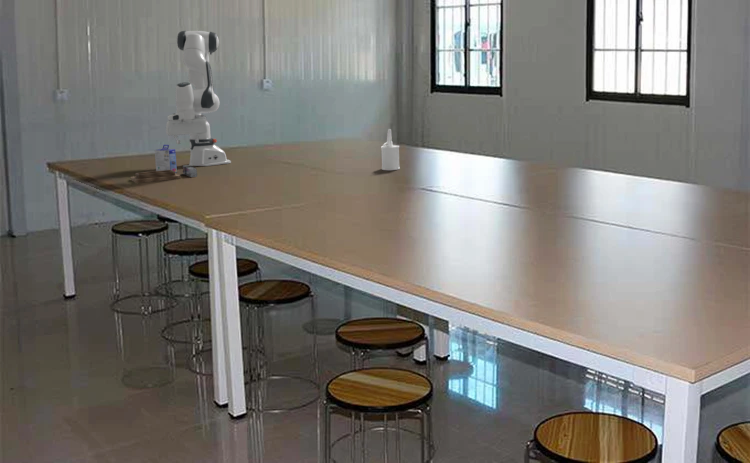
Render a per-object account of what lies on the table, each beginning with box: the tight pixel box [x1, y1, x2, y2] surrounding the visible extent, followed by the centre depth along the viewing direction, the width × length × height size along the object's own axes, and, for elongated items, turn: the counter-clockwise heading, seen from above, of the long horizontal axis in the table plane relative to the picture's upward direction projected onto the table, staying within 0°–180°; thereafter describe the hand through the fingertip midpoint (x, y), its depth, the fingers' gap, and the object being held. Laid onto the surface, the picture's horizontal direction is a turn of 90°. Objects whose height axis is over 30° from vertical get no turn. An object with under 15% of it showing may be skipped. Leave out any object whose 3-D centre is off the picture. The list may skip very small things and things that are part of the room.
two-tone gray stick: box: [182, 164, 198, 178], centre depth 458 cm, size 14×4×4 cm, turn 26°
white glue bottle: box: [380, 128, 401, 171], centre depth 453 cm, size 10×9×20 cm
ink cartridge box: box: [154, 144, 178, 174], centre depth 468 cm, size 10×6×14 cm, turn 63°
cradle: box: [130, 170, 181, 184], centre depth 449 cm, size 22×12×4 cm, turn 116°
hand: (187, 143), depth 455 cm, fingers open, 8 cm apart
